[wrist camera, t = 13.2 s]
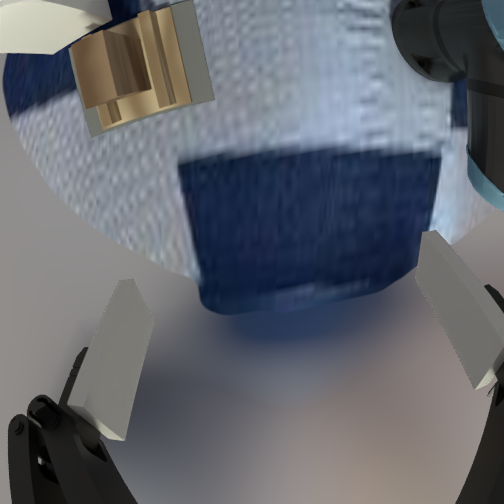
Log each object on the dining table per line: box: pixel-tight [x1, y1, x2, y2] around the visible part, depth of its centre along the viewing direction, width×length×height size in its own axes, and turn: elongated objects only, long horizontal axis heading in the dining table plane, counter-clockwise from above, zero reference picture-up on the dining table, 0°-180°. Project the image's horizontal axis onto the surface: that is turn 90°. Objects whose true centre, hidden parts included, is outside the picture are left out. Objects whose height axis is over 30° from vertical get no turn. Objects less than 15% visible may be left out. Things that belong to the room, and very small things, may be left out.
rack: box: [82, 7, 193, 130], centre depth 32 cm, size 14×15×4 cm
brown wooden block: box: [71, 30, 152, 109], centre depth 28 cm, size 4×8×12 cm, turn 10°
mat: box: [69, 0, 215, 138], centre depth 34 cm, size 20×16×1 cm
